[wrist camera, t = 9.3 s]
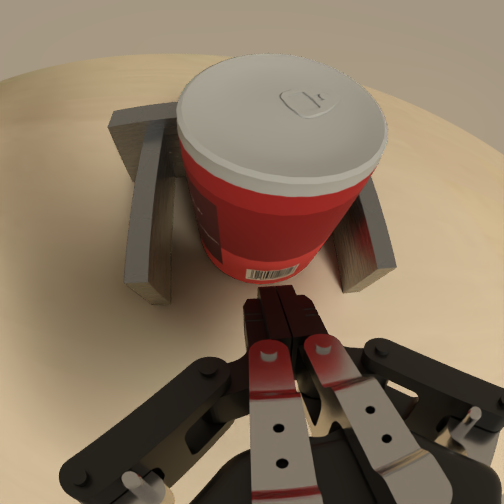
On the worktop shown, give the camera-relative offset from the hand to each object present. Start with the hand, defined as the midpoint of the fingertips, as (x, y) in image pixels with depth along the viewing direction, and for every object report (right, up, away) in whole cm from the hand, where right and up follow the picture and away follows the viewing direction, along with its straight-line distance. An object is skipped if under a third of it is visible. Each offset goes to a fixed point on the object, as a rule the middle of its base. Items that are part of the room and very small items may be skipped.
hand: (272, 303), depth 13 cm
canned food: (0, +4, +7) cm, 8 cm away
